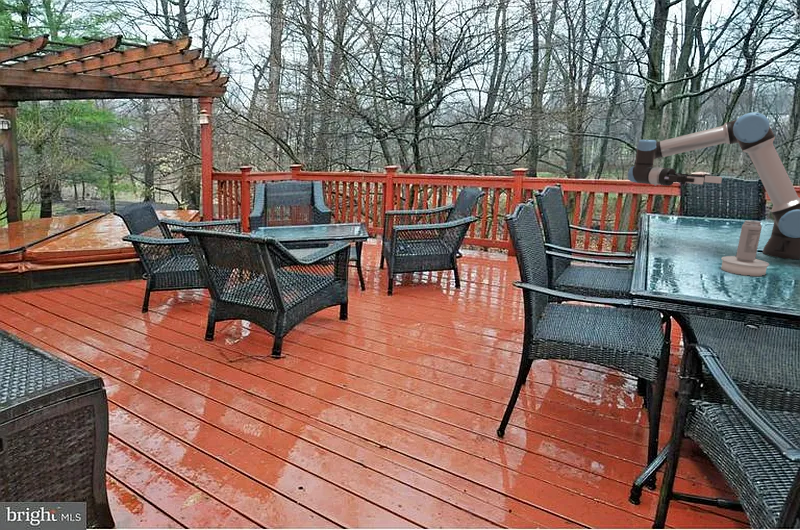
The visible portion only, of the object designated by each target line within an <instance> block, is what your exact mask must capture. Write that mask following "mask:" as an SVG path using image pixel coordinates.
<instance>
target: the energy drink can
mask: <svg viewBox="0 0 800 530" xmlns="http://www.w3.org/2000/svg"><path fill="white" fill-rule="evenodd" d="M761 233H762V224H761V221H758V220H749V219H748V220H744V222H743V224H742V225H741V230H740V234H739V240H738V244H737V250H736V255H735V256H736V258H737V260H738V261H742V262H753V260H755V259H757V258H756V257H757V252H758V248H759V243H760V238H761Z"/></svg>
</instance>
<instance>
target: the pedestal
mask: <svg viewBox="0 0 800 530" xmlns="http://www.w3.org/2000/svg"><path fill="white" fill-rule="evenodd" d="M720 260H721V261H722V262H721V266H720V267H721V268H720V269H721V270H722V271H724V272H727V273H731V274H734V273H735V274H734V275H739V274H741V275H740V276H747V275H750V276H749V277H763V276H762V275H764V276H766V273H767V269H768V268H767V267H769V266H770V263H769V262H767V261H765V260H761V259H757V258H755V260H753V262H742V261H738V260H737V258H736V255H727V256H726V255H725V256H722V257H721V259H720Z"/></svg>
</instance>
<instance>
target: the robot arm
mask: <svg viewBox="0 0 800 530" xmlns="http://www.w3.org/2000/svg"><path fill="white" fill-rule="evenodd" d="M775 139H776V137H775V135H774V132H773V130H772V128H771V126H770V121H769V118H768V117H767V116H766V115H765V114H763V113H761V112H755V111H753V112H746V113H745V114H743V115H741V116H739V117H738V118H737V119H734V120H731V121H727V122H725V123H724V124H723V125H721V126H717V127H712V128H708V129H704V130H701V131H697V132H696V131H695V132H693V133H689V134H683V135H679V136H677V137H676V136H675V137H672V138H668V139H664V140H660V141H657V140H656V139H639V140H638V143H637V147H636V156H635V164H634V165H633V166H630V168H629V169H628V172H627V179H628V180H629V181H630V182H631V183H636V184H645V185H646V184H648V185H654V187H656V186H660V185H661V186H666V187H667V186H668V187H669V186H672V185H673V184H674V183H679V184H681V185H686V184H690V185H691V184H693V185H704V183H710V184H722V180H723V176H716V175H715V176H713V175H708V174H707V173H705V174H704V175H702V174H699V175H698V174H689V173H682V172H676V171H675V170H676V169H674V168H671V167H670V168H669V167H668V168H667V167H657V166H654V161H655V160H657V159H661V158H664V157H669V156H670V157H671V156H674V155H678V154H682V153H686V152H691V151H695V150H701V149H705V148H709V147H713V146H718V145H722V144H727V145H733V144H738V145H739V147H740V149H741V150H742V152H743V153H746V154H748V156H749V157H750V160H751V162H752V163H753V166H754V169H756V172H757V174H758V177H759V179H760V181H761V183H762V185H763V187H764V189H765V191H766V193H767V196H768V197H769V200H770V202H771V204H772V208H771V210H770V212H771V214H772V216H773V219H774V222H773V225H772V231H771V235H770V237H769V239H768V241H767V242H766V244H765V245H764V246H763V250H762V254H764V255H765V256H769V257H770V256H771V257H775V258H779V257H780V258H782V259H787V260H800V197H799V196H798V193H797V191H796V189H795V187H794V185H793V183H792V181H791V179H790V176H789V175H788V173H787V170H786V169H785V166H784V164H783V162H782V160H781V158H780V156H779V154H778V152H777V149H776V147H775V146H774V143H773V142H774V140H775Z"/></svg>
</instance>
